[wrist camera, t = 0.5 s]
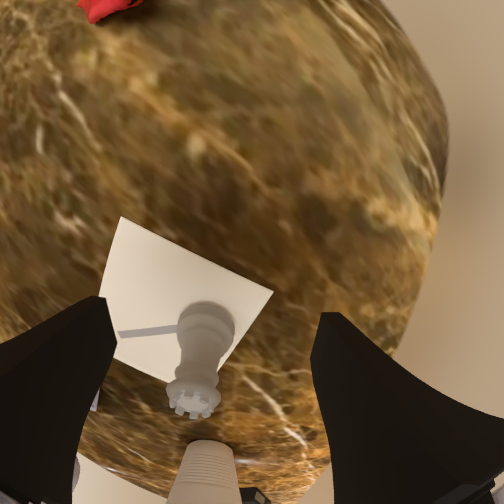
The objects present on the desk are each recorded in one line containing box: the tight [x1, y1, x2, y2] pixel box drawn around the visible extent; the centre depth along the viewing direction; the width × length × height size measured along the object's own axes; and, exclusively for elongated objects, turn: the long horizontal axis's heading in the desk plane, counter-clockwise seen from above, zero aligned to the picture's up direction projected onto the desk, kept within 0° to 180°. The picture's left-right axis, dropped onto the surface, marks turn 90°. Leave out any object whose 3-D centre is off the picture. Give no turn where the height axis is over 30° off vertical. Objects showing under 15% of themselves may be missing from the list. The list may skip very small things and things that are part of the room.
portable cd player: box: [239, 487, 271, 504], centre depth 40 cm, size 16×17×4 cm
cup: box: [166, 440, 242, 504], centre depth 24 cm, size 10×10×11 cm
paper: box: [99, 216, 274, 383], centre depth 20 cm, size 14×12×1 cm
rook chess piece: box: [166, 304, 235, 419], centre depth 17 cm, size 4×4×8 cm
